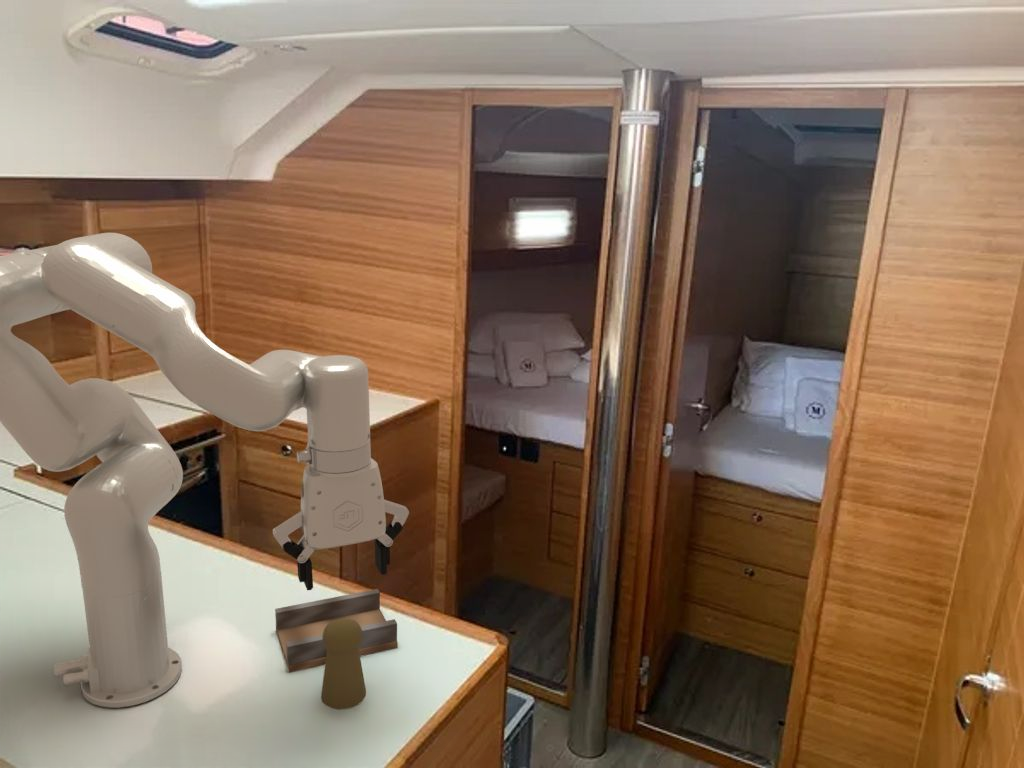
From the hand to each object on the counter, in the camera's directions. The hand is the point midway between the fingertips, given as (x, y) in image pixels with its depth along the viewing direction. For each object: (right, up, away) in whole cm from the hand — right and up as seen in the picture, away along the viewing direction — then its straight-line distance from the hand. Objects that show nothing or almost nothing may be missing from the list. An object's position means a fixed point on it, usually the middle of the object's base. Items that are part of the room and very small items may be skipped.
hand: (345, 577), depth 104 cm
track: (-5, -14, +17) cm, 22 cm away
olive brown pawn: (-1, -17, +5) cm, 18 cm away
